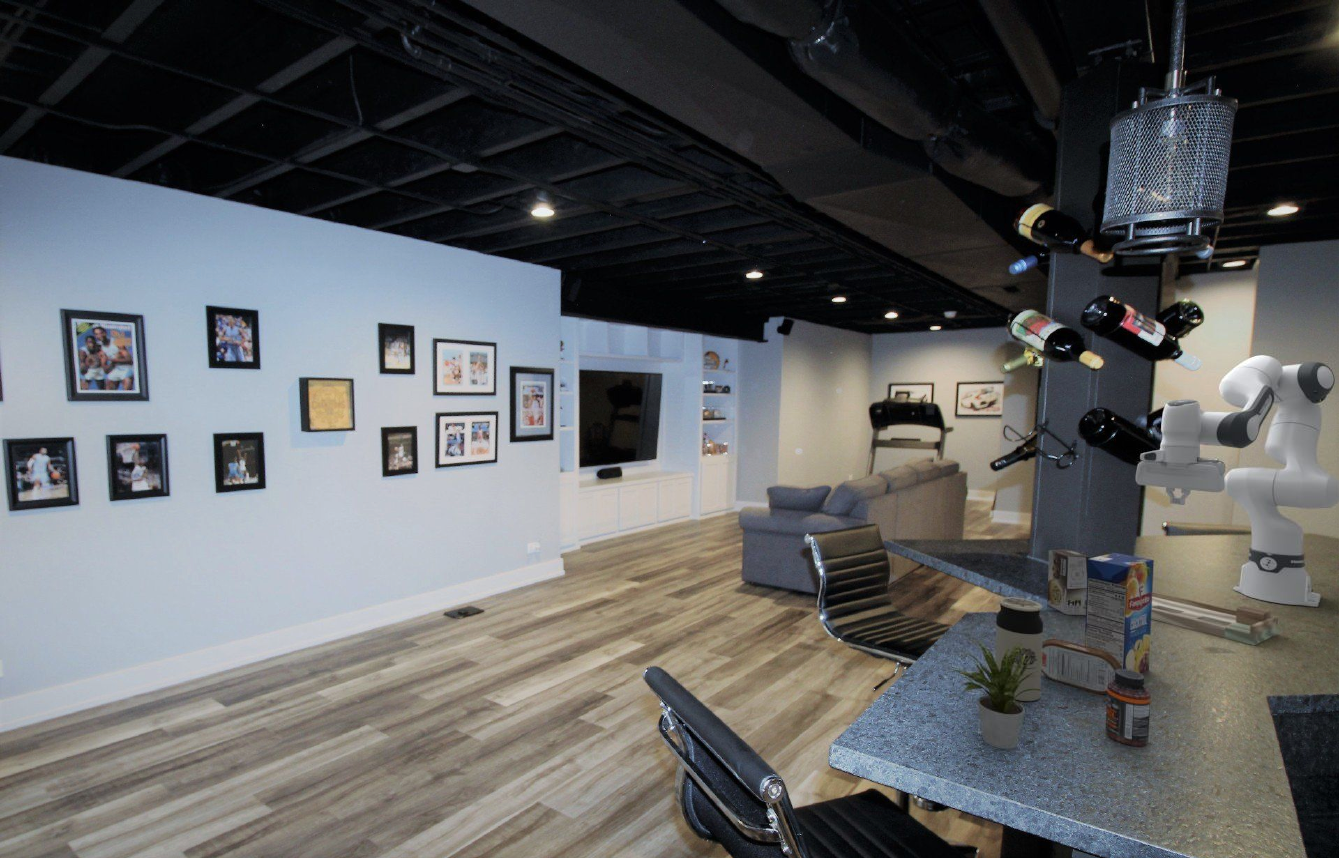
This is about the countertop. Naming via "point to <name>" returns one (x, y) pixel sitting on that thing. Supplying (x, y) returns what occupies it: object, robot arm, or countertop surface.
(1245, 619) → the walnut block
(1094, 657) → the tin
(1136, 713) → the supplement bottle
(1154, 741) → the countertop surface
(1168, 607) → the box
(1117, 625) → the juice carton
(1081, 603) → the coffee box
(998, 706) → the house plant
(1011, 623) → the travel mug
